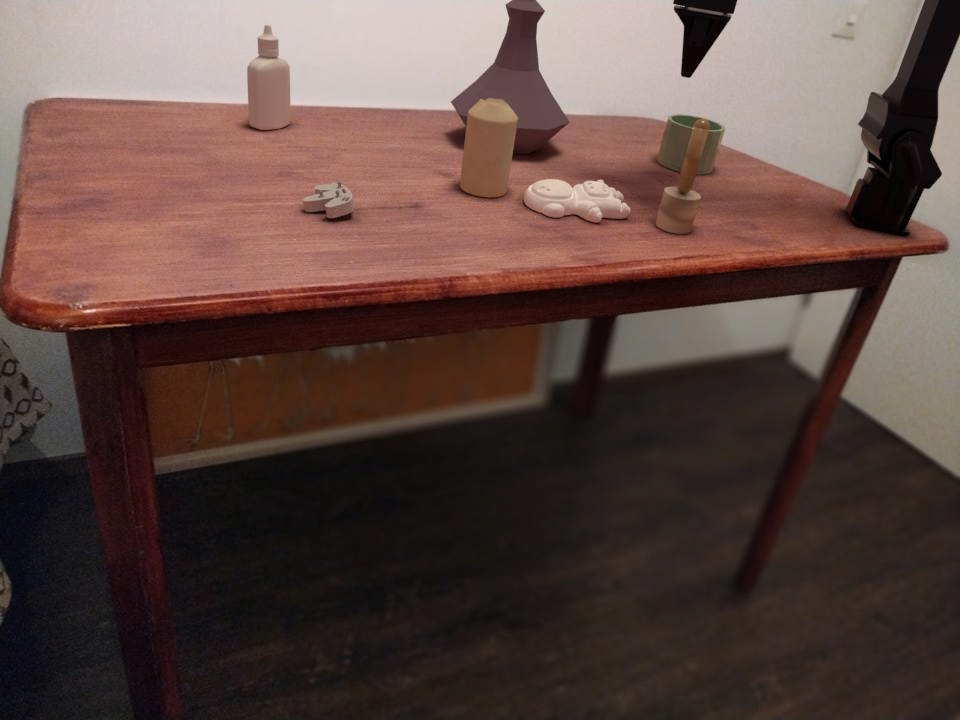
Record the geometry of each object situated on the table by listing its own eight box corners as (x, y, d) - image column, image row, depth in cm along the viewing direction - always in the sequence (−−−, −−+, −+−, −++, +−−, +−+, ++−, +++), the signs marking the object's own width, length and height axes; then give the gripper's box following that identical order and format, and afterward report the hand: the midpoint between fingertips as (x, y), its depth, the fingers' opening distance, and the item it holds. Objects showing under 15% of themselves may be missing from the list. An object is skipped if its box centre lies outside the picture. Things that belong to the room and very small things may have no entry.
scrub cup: (710, 162, 107) (722, 121, 104) (713, 178, 101) (727, 134, 97) (657, 152, 108) (667, 111, 105) (656, 167, 101) (668, 123, 98)
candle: (502, 201, 82) (515, 111, 77) (454, 192, 83) (464, 101, 78) (510, 186, 87) (523, 100, 82) (465, 177, 88) (475, 91, 82)
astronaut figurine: (632, 228, 81) (638, 202, 79) (523, 214, 80) (528, 187, 78) (621, 200, 88) (627, 176, 86) (522, 187, 87) (526, 162, 86)
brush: (690, 224, 84) (721, 118, 78) (691, 236, 81) (724, 127, 74) (655, 217, 85) (684, 111, 78) (655, 229, 81) (685, 120, 75)
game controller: (292, 204, 74) (292, 179, 73) (385, 189, 81) (387, 166, 80) (323, 224, 71) (323, 198, 69) (417, 207, 78) (419, 183, 77)
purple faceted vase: (559, 171, 95) (592, 0, 84) (435, 149, 96) (451, -22, 85) (567, 137, 108) (595, -13, 98) (458, 118, 109) (474, -32, 99)
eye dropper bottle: (243, 121, 95) (239, 20, 89) (286, 120, 98) (285, 22, 91) (252, 131, 92) (248, 28, 86) (296, 130, 95) (296, 30, 88)
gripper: (660, -93, 87) (629, 47, 95) (644, -97, 72) (609, 70, 80) (755, -79, 85) (715, 63, 93) (760, -80, 70) (712, 90, 78)
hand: (687, 70), depth 86 cm, fingers open, 9 cm apart
